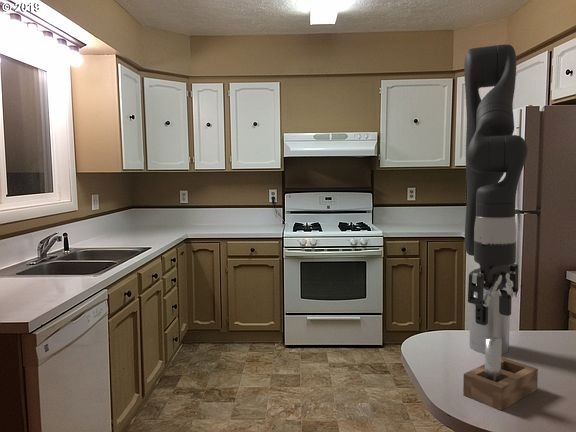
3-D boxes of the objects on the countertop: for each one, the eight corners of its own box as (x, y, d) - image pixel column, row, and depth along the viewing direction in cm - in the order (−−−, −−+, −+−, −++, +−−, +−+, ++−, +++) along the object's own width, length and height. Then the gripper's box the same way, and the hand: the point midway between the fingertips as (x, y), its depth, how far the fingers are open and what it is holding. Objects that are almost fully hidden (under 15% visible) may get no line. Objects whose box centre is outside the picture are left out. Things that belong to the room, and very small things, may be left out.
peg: (489, 391, 94) (490, 335, 93) (503, 397, 92) (504, 339, 91) (481, 396, 92) (482, 338, 91) (495, 401, 90) (496, 342, 89)
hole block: (500, 376, 101) (500, 356, 101) (537, 389, 95) (537, 368, 94) (463, 395, 93) (463, 373, 93) (501, 410, 87) (501, 387, 86)
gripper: (496, 233, 96) (495, 307, 98) (456, 241, 88) (455, 322, 90) (532, 236, 90) (530, 316, 92) (493, 245, 82) (491, 333, 84)
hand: (493, 319), depth 91 cm, fingers open, 8 cm apart
